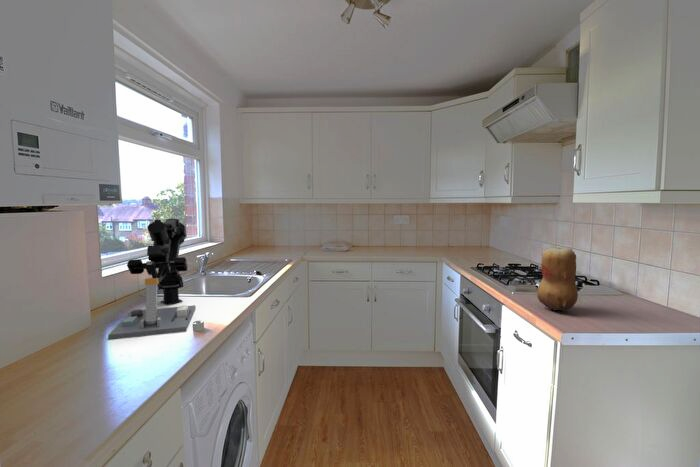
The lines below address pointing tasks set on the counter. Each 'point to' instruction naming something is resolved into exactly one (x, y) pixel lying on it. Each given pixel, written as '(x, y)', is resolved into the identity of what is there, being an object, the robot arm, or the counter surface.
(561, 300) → the butternut squash
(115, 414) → the counter surface
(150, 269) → the robot arm
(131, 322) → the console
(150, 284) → the lever
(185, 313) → the slider
